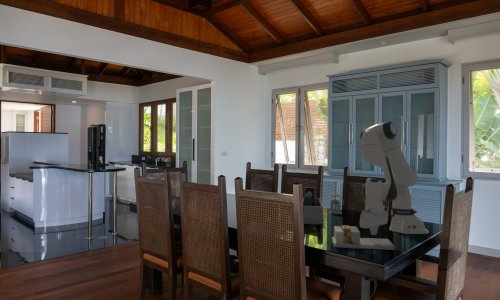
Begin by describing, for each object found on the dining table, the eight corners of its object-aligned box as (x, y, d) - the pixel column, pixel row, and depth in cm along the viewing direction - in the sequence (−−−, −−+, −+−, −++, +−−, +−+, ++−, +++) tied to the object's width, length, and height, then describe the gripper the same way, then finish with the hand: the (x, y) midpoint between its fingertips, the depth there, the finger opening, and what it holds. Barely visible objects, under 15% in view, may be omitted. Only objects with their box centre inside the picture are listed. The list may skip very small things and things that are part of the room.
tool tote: (320, 213, 282) (320, 198, 282) (322, 224, 242) (322, 206, 242) (302, 212, 284) (302, 197, 284) (301, 223, 244) (301, 206, 244)
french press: (332, 211, 292) (332, 180, 292) (346, 212, 285) (346, 181, 285) (326, 212, 285) (327, 181, 284) (340, 214, 277) (340, 182, 277)
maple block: (348, 238, 198) (348, 225, 198) (350, 241, 190) (350, 228, 190) (341, 237, 199) (341, 225, 199) (343, 241, 191) (343, 228, 191)
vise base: (387, 242, 197) (388, 228, 197) (394, 249, 183) (394, 234, 183) (331, 240, 201) (332, 226, 201) (334, 247, 187) (334, 231, 187)
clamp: (313, 224, 245) (313, 193, 245) (300, 223, 247) (300, 192, 247) (315, 214, 279) (315, 187, 279) (304, 214, 281) (304, 187, 281)
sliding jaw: (355, 237, 199) (356, 226, 199) (359, 243, 185) (359, 232, 185) (348, 236, 200) (348, 226, 200) (351, 243, 186) (351, 232, 186)
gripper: (366, 211, 182) (366, 238, 182) (390, 207, 194) (390, 232, 194) (356, 209, 187) (356, 236, 187) (379, 205, 199) (379, 230, 200)
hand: (373, 234), depth 191 cm, fingers closed
